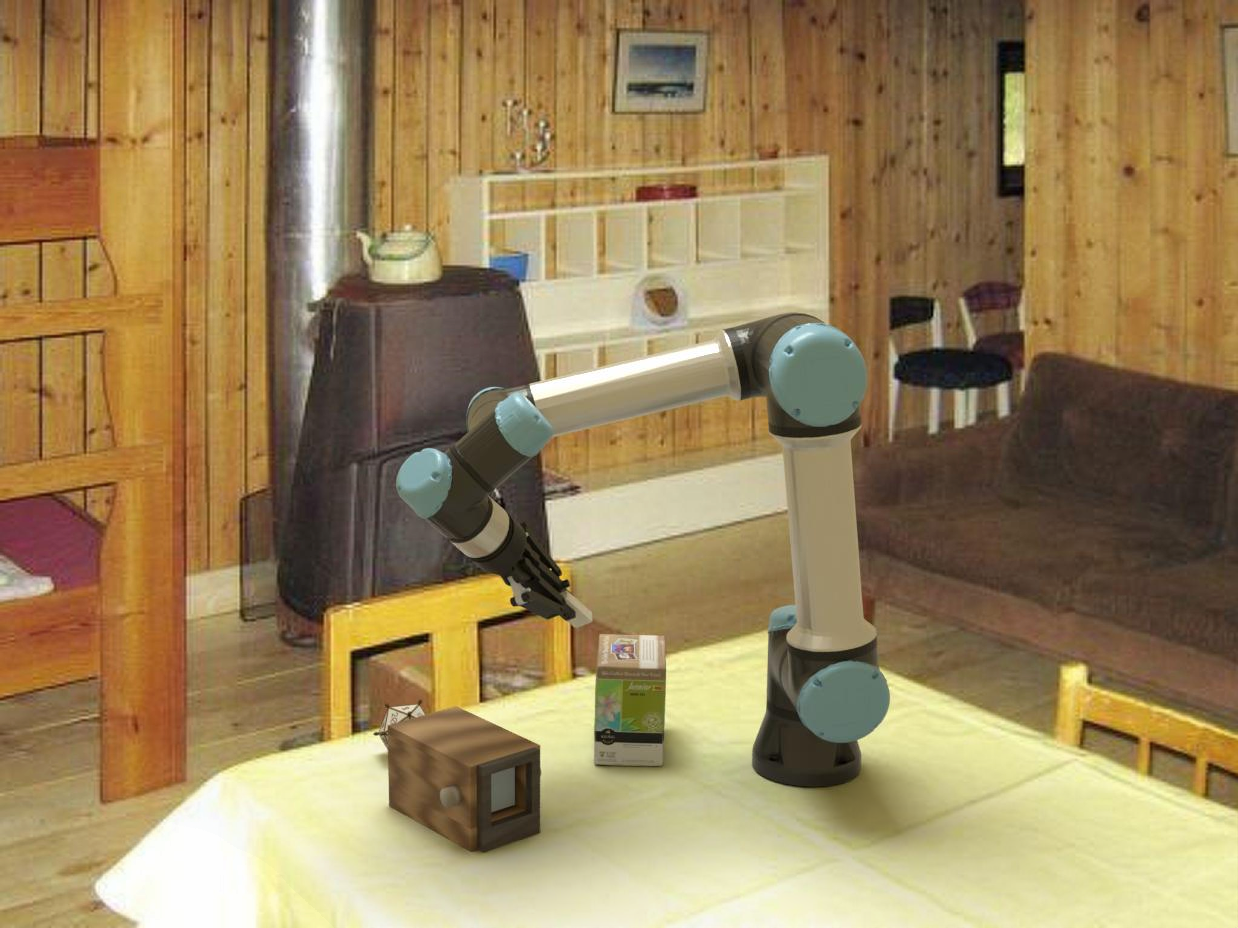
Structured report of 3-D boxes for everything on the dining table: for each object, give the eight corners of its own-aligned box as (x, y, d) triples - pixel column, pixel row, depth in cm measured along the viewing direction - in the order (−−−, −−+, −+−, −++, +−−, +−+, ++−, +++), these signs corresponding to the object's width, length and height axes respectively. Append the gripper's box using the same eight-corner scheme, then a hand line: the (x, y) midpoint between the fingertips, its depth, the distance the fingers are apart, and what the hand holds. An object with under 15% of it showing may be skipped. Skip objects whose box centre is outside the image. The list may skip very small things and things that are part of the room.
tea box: (665, 767, 246) (667, 666, 243) (593, 766, 247) (593, 665, 243) (664, 728, 261) (665, 632, 258) (595, 726, 261) (596, 631, 258)
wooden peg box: (555, 826, 227) (556, 744, 224) (466, 858, 218) (465, 772, 215) (466, 781, 241) (465, 703, 238) (378, 808, 232) (377, 728, 229)
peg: (514, 804, 225) (514, 760, 224) (483, 814, 222) (482, 770, 220) (445, 768, 236) (445, 726, 235) (414, 778, 233) (413, 735, 231)
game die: (415, 786, 248) (423, 748, 241) (360, 761, 249) (367, 722, 242) (442, 738, 254) (451, 700, 247) (389, 713, 255) (396, 674, 248)
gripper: (462, 504, 230) (558, 590, 246) (462, 586, 222) (562, 669, 238) (510, 483, 228) (604, 572, 244) (512, 565, 219) (610, 651, 235)
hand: (583, 620), depth 241 cm, fingers closed
